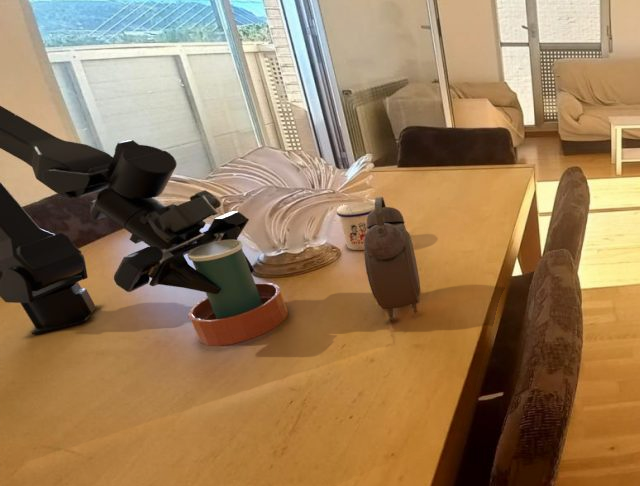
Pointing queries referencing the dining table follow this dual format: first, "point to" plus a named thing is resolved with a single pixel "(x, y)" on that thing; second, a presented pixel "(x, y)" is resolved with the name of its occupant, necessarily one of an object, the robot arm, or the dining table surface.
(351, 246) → the teacup with lid
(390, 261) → the alarm clock
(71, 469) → the dining table surface
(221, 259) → the green canister
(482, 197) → the dining table surface
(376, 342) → the dining table surface
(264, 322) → the bowl
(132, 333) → the dining table surface
